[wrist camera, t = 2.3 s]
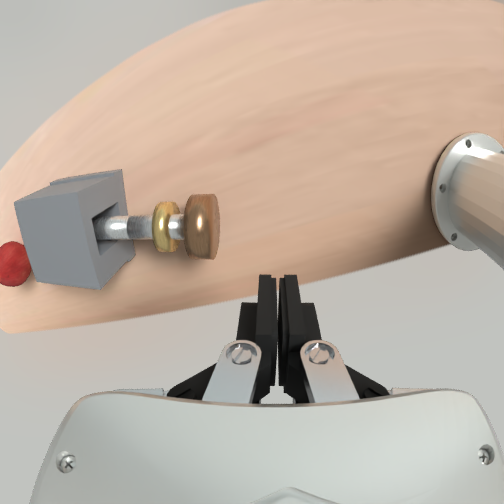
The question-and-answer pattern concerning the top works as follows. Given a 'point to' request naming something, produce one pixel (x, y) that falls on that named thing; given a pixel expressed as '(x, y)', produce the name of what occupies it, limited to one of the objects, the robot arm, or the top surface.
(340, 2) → the top surface
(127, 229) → the shaft
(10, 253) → the onion
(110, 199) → the housing
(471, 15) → the top surface
